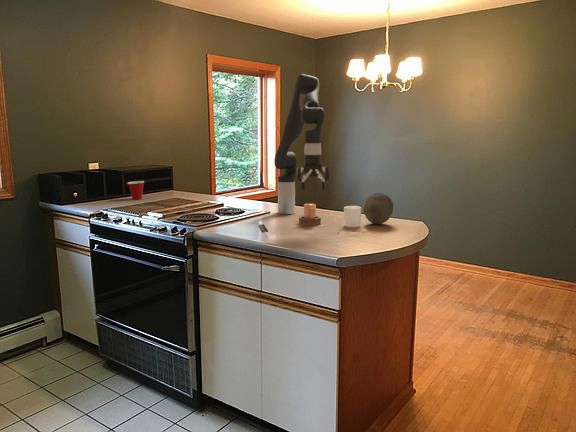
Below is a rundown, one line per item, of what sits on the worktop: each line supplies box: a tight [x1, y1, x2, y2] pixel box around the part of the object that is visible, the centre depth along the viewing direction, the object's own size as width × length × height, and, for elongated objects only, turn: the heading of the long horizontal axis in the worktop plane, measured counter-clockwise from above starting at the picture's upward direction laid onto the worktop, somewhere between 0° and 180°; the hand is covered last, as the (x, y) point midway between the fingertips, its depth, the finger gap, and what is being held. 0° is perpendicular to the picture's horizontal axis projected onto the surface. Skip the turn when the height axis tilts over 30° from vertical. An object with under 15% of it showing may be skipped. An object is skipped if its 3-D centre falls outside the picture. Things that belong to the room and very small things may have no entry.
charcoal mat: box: [258, 224, 269, 233], centre depth 211 cm, size 14×12×1 cm
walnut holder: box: [292, 215, 329, 228], centre depth 213 cm, size 14×14×4 cm
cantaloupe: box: [363, 192, 394, 226], centre depth 217 cm, size 14×14×15 cm
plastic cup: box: [127, 180, 145, 201], centre depth 307 cm, size 11×11×12 cm
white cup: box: [343, 205, 362, 228], centre depth 208 cm, size 8×8×10 cm
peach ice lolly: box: [303, 203, 317, 219], centre depth 211 cm, size 9×6×9 cm, turn 10°
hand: (312, 190), depth 206 cm, fingers open, 8 cm apart
